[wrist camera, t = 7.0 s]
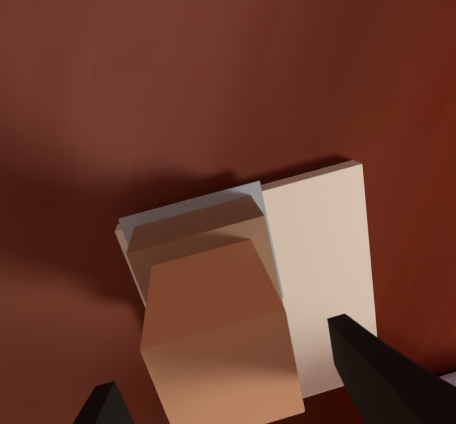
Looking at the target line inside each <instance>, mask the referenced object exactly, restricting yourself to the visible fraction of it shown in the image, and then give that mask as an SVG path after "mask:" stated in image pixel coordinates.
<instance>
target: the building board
mask: <svg viewBox="0 0 456 424" xmlns="http://www.w3.org/2000/svg"><path fill="white" fill-rule="evenodd" d="M118 220H119V223H120V224H118V225H117V227H116V230H115V234H116V236H117V239H118V241H119V244H120V246H121V249H122V251H123V253H124V256H125V258H126V261H127V263H128V266H129V268H130V271H131V273H132V276H133V278H134V281H135V283H136V286H137V288H138V291H139V293H140V296H141V298H142V301H143V303H144V306H145V308H146V303H147V295H148V288H149V280H150V273H151V266H152V265H156V264H160V263H164V262H167V261H171V260H175V259H179V258H182V257H186V256H190V255H194V254H197V253H201V252H205V251H209V250H212V249H216V248H220V247H224V246H227V245H231V244H235V243H239V242H242V241H246V240H250V239H251V240H252V242H253V244H254V247H255V249H256V251H257V253H258V255H259V257H260V259H261V261H262V263H263V265H264V267H265V269H266V271H267V273H268V275H269V277H270V279H271V281H272V283H273V285H274V287H275V289H276V291H277V294H278V296H279V298H280V300H281V302H282V304H283V306H284V308H285V310H286V315H287V320H288V325H289V331H290V336H291V341H292V346H293V351H294V357H295V362H296V367H297V372H298V377H299V383H300V388H301V393H302V398H306V397H309V396H312V395H316V394H319V393H322V392H325V391H329V390H332V389H335V388H339V387H342V386H344V384H343V382H342V380H341V378H340V376H339V374H338V371H337V369H336V367H335V365H334V360H333V354H332V347H331V341H330V334H329V328H328V321H327V318H331V317H334V316H338V315H341V314H344V313H345V314H346V315H348V316H349V317H351V318H352V319H353V320H355V321H356V322H357V323H359V324H360V325H361V326H363V327H364V328H365V329H367V330H368V331H369V332H371V333H372V334H373V335H375V336H376V337H377V330H376V319H375V307H374V296H373V284H372V273H371V261H370V250H369V238H368V227H367V215H366V204H365V192H364V181H363V169H362V164H361V163H359V162H356V161H354V160H351V161H347V162H344V163H340V164H336V165H333V166H329V167H325V168H322V169H318V170H314V171H311V172H307V173H303V174H300V175H296V176H292V177H288V178H285V179H281V180H277V181H274V182H270V183H266V184H263V185H260V181H255V182H251V183H248V184H244V185H240V186H237V187H233V188H229V189H226V190H222V191H218V192H215V193H211V194H207V195H204V196H200V197H196V198H193V199H189V200H185V201H181V202H178V203H174V204H170V205H167V206H163V207H159V208H156V209H152V210H148V211H145V212H141V213H137V214H134V215H130V216H126V217H123V218H119V219H118Z"/></svg>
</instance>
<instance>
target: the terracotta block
mask: <svg viewBox="0 0 456 424" xmlns="http://www.w3.org/2000/svg"><path fill="white" fill-rule="evenodd" d="M140 352H141V354H142V357H143V359H144V362H145V364H146V367H147V369H148V371H149V374H150V376H151V379H152V381H153V383H154V386H155V388H156V391H157V393H158V396H159V398H160V400H161V403H162V405H163V408H164V410H165V412H166V415H167V417H168V420H169V422H170V424H266V423H270V422H273V421H276V420H280V419H283V418H286V417H290V416H293V415H296V414H300V413H303V412H305V409H304V403H303V398H302V393H301V388H300V383H299V377H298V372H297V367H296V362H295V357H294V351H293V346H292V341H291V336H290V331H289V325H288V320H287V315H286V310H285V308H284V306H283V304H282V302H281V300H280V298H279V296H278V294H277V291H276V289H275V287H274V285H273V283H272V281H271V279H270V277H269V275H268V273H267V271H266V269H265V267H264V265H263V263H262V261H261V259H260V257H259V255H258V253H257V251H256V249H255V247H254V244H253V242H252V240H251V239H250V240H246V241H242V242H239V243H235V244H231V245H227V246H224V247H220V248H216V249H212V250H209V251H205V252H201V253H197V254H194V255H190V256H186V257H182V258H179V259H175V260H171V261H167V262H164V263H160V264H156V265H152V266H151V273H150V280H149V288H148V295H147V303H146V310H145V317H144V325H143V332H142V340H141V347H140Z"/></svg>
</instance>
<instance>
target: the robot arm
mask: <svg viewBox="0 0 456 424" xmlns="http://www.w3.org/2000/svg"><path fill="white" fill-rule="evenodd" d="M327 321H328V328H329V334H330V341H331V347H332V354H333V360H334V365H335V367H336V369H337V371H338V374H339V376H340V378H341V380H342V382H343V384H344V386H345V388H346V390H347V392H348V394H349V396H350V398H351V399H352V401H353V403H354V404H355V406H356V407H357V409H358V411H359V412H360V414H361V416H362V417H363V419H364V421H365V422H366V424H456V372H453V373H450V374H447V375H443V376H440V377H438V376H436V375H434V374H433V373H431V372H429V371H428V370H426V369H425V368H423V367H421V366H420V365H418V364H416V363H415V362H413V361H412V360H410V359H409V358H407V357H405V356H404V355H402V354H401V353H399V352H398V351H396V350H395V349H393V348H392V347H391V346H389V345H388V344H386V343H385V342H383V341H382V340H380V339H379V338H378V337H376V336H375V335H373V334H372V333H371V332H369V331H368V330H367V329H365V328H364V327H363V326H361V325H360V324H359V323H357V322H356V321H355V320H353V319H352V318H351V317H349V316H348V315H346V314H345V313H344V314H341V315H338V316H334V317H331V318H327ZM73 424H135V422H134V420H133V418H132V416H131V414H130V412H129V410H128V408H127V406H126V404H125V402H124V400H123V398H122V396H121V394H120V392H119V390H118V388H117V386H116V384H115V382H114V381H113V382H109V383H106V384H102V385H99V386H96V387H95V388H94V390H93V392H92V393H91V395H90V396H89V398H88V400H87V401H86V403H85V405H84V406H83V408H82V409H81V411H80V413H79V414H78V416H77V418H76V419H75V421H74V423H73Z"/></svg>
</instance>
